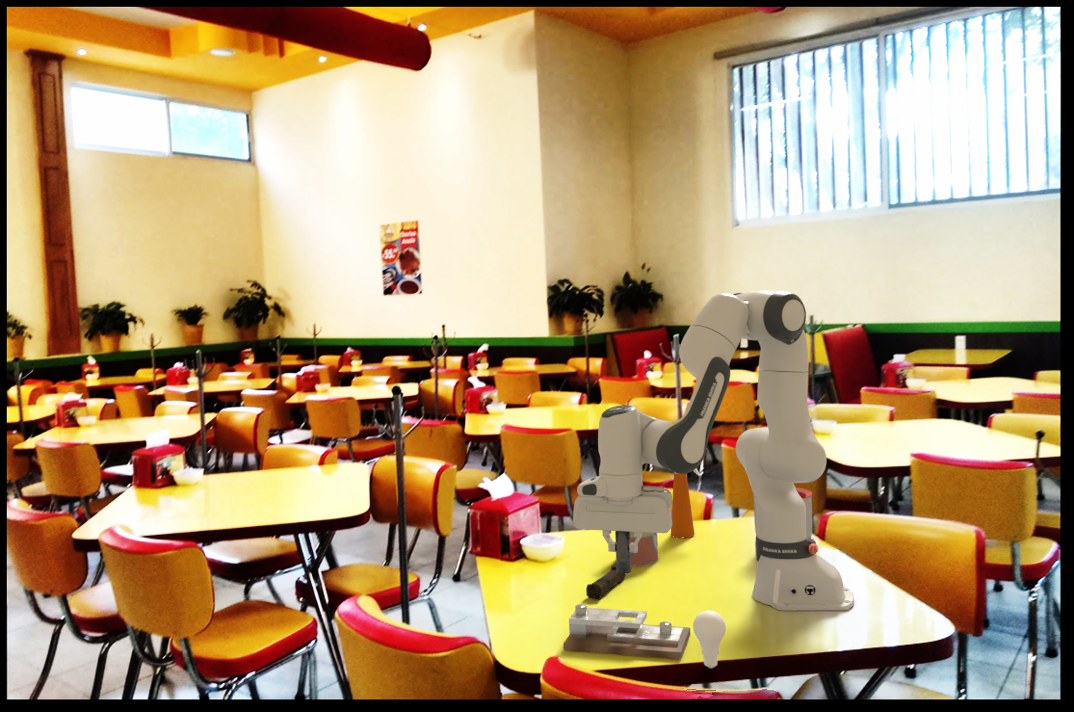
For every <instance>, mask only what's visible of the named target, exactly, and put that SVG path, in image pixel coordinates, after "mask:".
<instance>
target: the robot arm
mask: <svg viewBox="0 0 1074 712" xmlns="http://www.w3.org/2000/svg"><path fill="white" fill-rule="evenodd" d="M806 320H807V311H806V308H805V305H804V303H803V301H802V299H801V298H800V296H798V295H797V294H795V293H793V292H789V291H785V290H779V291H774V290H756V291H750V292H744V293H743V292H736V293H733V294H732V293H731V294H730V293H726V292H724V293H722V292H721V293H717V294H714V296H712V297H711V298H710V299H708V301H707V302H706V304H705V305H704V306H703V307H702V308H701V310H700V311H699V312H698V313H697V315H696V317H695V318H694V319H693V321H692V322H691V324H690V326H688V327H689V328H688V329H687V331H686V333H685V334H684V336H683V338H682V340H681V344H680V345H679V349H678V354H679V359H680V362H681V364H682V366H683V368H684V369H685V370H686V371H687V372H688V373H689V374H691V375H692V376H693V377H694V378H695V381H696V382H695V388H694V390H693V392H692V394H691V397H690V400H689V402H688V404H687V407H686V410H685V412H684V414H683V416H682V417H680V418H679V419H677V420H675V421H670V420H665V419H660V418H656V417H653V416H651V415H648V414H646V413H644V412H643V411H642V410H639V409H638V408H637V407H636V406H635V405H630V404H622V405H616V406H612V407H610V408H608V409H605V410H604V411H603V412H602V413H601V415H600V418H599V422H598V429H597V430H598V432H597V433H598V434H597V436H598V437H597V440H598V441H597V443H598V444H597V446H598V448H597V449H598V453H599V456H600V464H599V469H598V476H595V477H590V478H588V479H586V480H584V481H582V482H581V483H579V484H578V485H577V488H576V489H577V490H576V491H577V494H578V496H577V497H576V498H575V501H574V505H573V511H572V512H573V513H572V519H573V522H572V523H573V526H574V527H575V528H576V529H577V530H587V531H588V530H589V531H590V530H592V531H601V532H602V536H603V539H604V540H605V541H606V543H607V545H608V546H607V547H608V552H609V553H611V552H613V553H616V541H615V540H613V538H612V537H611V534H612V532H615V531H628V532H634V537H637V538H636V540H635V542H634V543H633V542H631V543H630V544H629V548H630V550H629V552H630V553H637V552H638V542H639V541H640V539H641V537H642V535H643V532H650V533H657V534H667V533H669V532H670V531H671V527H672V509H671V508H672V500H673V493H672V492H671V491H670V489H668V488H665V486H660V485H659V486H652V485H644V484H643V483H644V482H643V480H644V479H643V465H644V464H647V465H648V464H649V465H652V466H655V467H660V468H664V469H666V470H668V471H671V472H673V473H674V472H676V473H679V474H689V473H691V472H694V471H693V470H694V469H696V468H697V469H698V467H699V466H700V465H701V463H702V461H703V460H704V458H705V457H706V452H707V447H708V442H709V439H710V438H709V437H710V434H711V431H712V427H713V425H714V423H715V421H716V417H717V416H718V413H719V410H720V407H721V405H722V403H723V399H724V397H725V395H726V392H727V389H728V386H729V383H730V379H731V368H730V363H731V360H732V358H733V355H734V354H735V352H736V350H737V348H738V347H739V345H740V342H741V339H742V340H749V341H757V342H758V343H759V346H760V354H759V360H758V375H757V376H758V379H757V397H756V401H757V405H758V407H759V409H760V410H761V411H762V413H763V415H764V417H765V421H766V424H767V425H766V426H767V427H754V428H748V429H747V430H745V431H743V432H742V433H741V435H739V437H738V439H737V441H736V444H735V454H736V455H735V456H736V457H737V459H738V461H739V463H740V464H741V465H742V466H743V468H744V470H745V472H746V475H747V477H748V480H749V484H750V487H751V491H752V495H753V500H754V499H755V504H756V517H757V535H756V534H755V540H754V551H755V552H754V553H755V560H756V571H755V572H756V575H755V579H754V580H755V581H754V585H753V590H752V592H751V596H752V598H753V600H756V601H757V602H760V603H761V604H765V605H768V606H771V607H773V608H774V609H776V610H778V611H847V610H849V609H852V607H853V606H854V604H855V598H854V594H853V592H852V590H851V589H849V588H848V587H846V586H844V582H843V578H842V575H841V573H840V571H839V570H838V569H837V567H836V566H834V565H833V564H831V563H830V562H828V561H827V560H826V559H824V558H823V557H822V556H820V555H819V554H818V552H819V546H818V545H817V542H816V540H815V538H814V537H811V538H809V537H808V536H806V507H805V503H804V501H803V499H802V498H801V497H800V495H799V494H798V492H797V490H796V488H795V487H796V486H795V484H805V483H807V484H808V483H812V482H815V481H817V480H818V479H820V477H821V476H822V475H823V473H824V472H825V470H826V467H827V454H826V451H825V449H824V447H823V445H822V444H821V443H820V442H819V440H818V438H817V437H816V435H815V432H814V429H813V426H812V422H811V418H810V413H809V407H808V405H809V404H808V403H809V402H808V398H809V397H808V396H809V395H808V390H809V389H808V386H809V347H808V340H807V334H806V332H805V330H804V329H805V328H804V327H805V325H806Z"/></svg>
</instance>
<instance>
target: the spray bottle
mask: <svg viewBox="0 0 1074 712" xmlns="http://www.w3.org/2000/svg"><path fill="white" fill-rule="evenodd" d="M692 472H694V473H695V474H696V475H697V476H698V477H701V473H700V472H699V470H698V467H697V468H696V469H694V470H693V471H692ZM687 474H688V473H686V474H679V473H676V472H673V484H672V485H673V487H672V505H671V516H672V527H671V529H670V536H671V535H672V536H671V537H673V536H674V537H673V538H676V537H689V538H692V537H693V535H694V536H695V529H694V528H695V527H694V520H693V512H692V505H691V497H690V490H689V483H688V475H687ZM691 536H692V537H691Z"/></svg>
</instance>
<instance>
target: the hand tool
mask: <svg viewBox="0 0 1074 712" xmlns="http://www.w3.org/2000/svg"><path fill="white" fill-rule="evenodd" d="M626 574H627V573H625V574H623V573H618V572H617V570H616V562H615V563H613V564H612V565H611V567H610V570H609V571H608V572H607V573H604V575H602V576H600V577H599V578H598V579H597V580H595V581H593V583H588V584H587V585H586V587H585V591H586V592H585V593H586V596H587V598H588V599H589V600H590V599H592V600H600V599H601V598H603V595H604V594H605V593H606V592H607V591H608V590H610V589H612V588H613V587H614V586H615V585H617V584H621V582H622V581H624V580H625V579H626V578H625V577H626V576H627V575H626ZM622 583H623V582H622Z"/></svg>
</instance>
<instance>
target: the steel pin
mask: <svg viewBox="0 0 1074 712" xmlns="http://www.w3.org/2000/svg"><path fill="white" fill-rule="evenodd" d="M614 533H615V536H614V537H615V542H616V552H615V563H616V570H617V572H618V573H623V574H625V573H626V574H630V573H631V572H632V566H631V553H630V552H629V550H630V548H629V544H630V532H628V531H614Z"/></svg>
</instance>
